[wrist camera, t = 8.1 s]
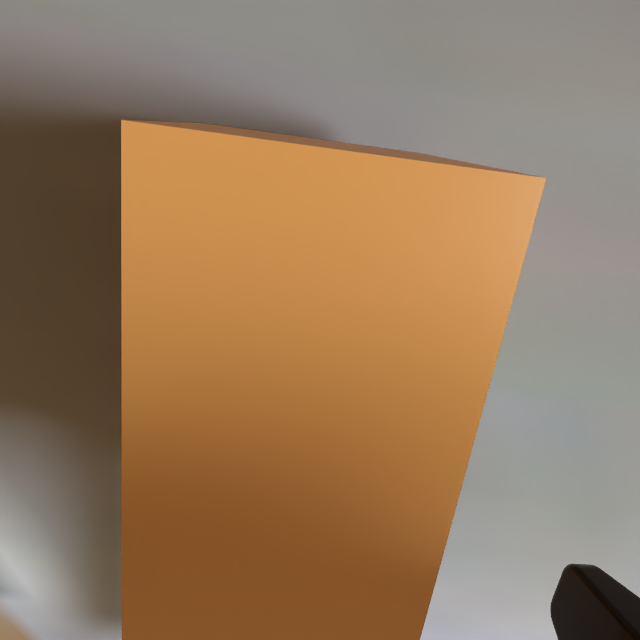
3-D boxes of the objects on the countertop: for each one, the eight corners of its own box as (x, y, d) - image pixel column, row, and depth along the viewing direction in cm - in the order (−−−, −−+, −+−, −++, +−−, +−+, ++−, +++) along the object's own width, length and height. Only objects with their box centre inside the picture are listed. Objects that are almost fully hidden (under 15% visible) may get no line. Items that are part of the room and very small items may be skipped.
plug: (202, 123, 9) (121, 120, 5) (418, 152, 10) (546, 178, 5) (174, 689, 14) (121, 962, 10) (317, 691, 15) (333, 954, 10)
